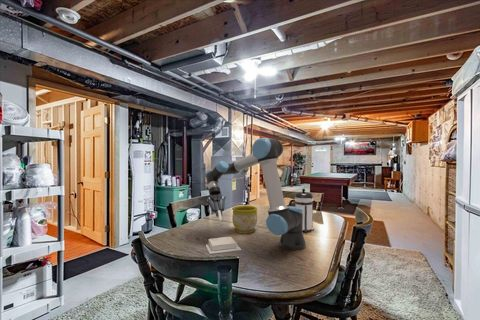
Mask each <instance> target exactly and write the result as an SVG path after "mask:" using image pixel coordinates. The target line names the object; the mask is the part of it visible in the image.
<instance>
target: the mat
mask: <svg viewBox="0 0 480 320" xmlns="http://www.w3.org/2000/svg"><path fill="white" fill-rule="evenodd" d="M205 245H206V246H205V247H206V249H207V252H208V253H209V255H215V254H222V253H223V254H224V253H230V252H238V251H242V249H241V247H240V246H239V245H238V244H237V248H233V249H225V250H217V251H213V250H212V249H211V247H210V245H209V243H208V244H205Z"/></svg>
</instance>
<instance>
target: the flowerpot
mask: <svg viewBox="0 0 480 320" xmlns="http://www.w3.org/2000/svg"><path fill="white" fill-rule="evenodd" d="M231 210H232V216H231V217H232V224H233V226H234V230H235V231H236V232H237V233H239V234H251V233H253V232H254V231H255V230H256V229H255V228H256V226H257V223H258V207H257V206H253V205H236V206H233V207H232V208H231Z"/></svg>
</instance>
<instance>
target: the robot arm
mask: <svg viewBox="0 0 480 320" xmlns="http://www.w3.org/2000/svg"><path fill="white" fill-rule="evenodd" d="M283 152H284V145H283V143H282V141H281V140H279V139H276V138H268V137H259V138H257V139H256V140H255V141H254V142H253V144H252V147H251V154H248V155H247V156H245V157H244V156H243V157H242V158H240V159H237V160H236V161H234V162H231V163H228V162H227V161H224V160H220V161H219V162H218V163H217V164H216V165H215V166H214V167H213V169H212V168H211V169H208V170H207V171H206V173H205V179H206V183H207V189H208V193H209V194H208V195H209V196H208V197H206V202H207V203H208V205H209V208H210V210H211V211H212V213H215V216H216V217H217V218H218V219H217V220H218V223H222V221H223V218H222V217H223V212H224V211H225V206H226V205H225V204H226V198H227V197H226V196H223V195H222V192H221V187H220V184H219V183H220V182H219V179H221V177H222V176H225V175H226V176H228V175H237V174H240V173H241V171H243V170H246V169H249V168H251V167H253V166H255V165H260V166H261V170H262V175H263V180H264V185H265V189H266V195H267V199H268V205H269V208H268V209H267V214H268V216H267V218H266V220H265V224H266V227H267V230H268V231H269V232H270V233H271V234H273V235H276V236H280V240H279V246H280V247H281V248H283V249H286V250H289V251H290V250H292V251H299V250H303V249H305V248H306V245H307V244H306V240H305V237H304V233H303V231H304V230H303V211H302V208H299V207H295V206H292V205H291V206H289V205H286V203H285V198H284V194H283V189H282V185H281V184H282V183H281V179H280V174H279V170H278V165H277V162H278V161H279V157H281V156H282V154H283ZM221 200H222V202H221ZM221 203H222V204H221Z"/></svg>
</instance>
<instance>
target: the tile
mask: <svg viewBox="0 0 480 320" xmlns="http://www.w3.org/2000/svg"><path fill="white" fill-rule="evenodd" d="M207 242H208V244H209V245H210V247H211V249H212V250H213V251H217V250H225V249H233V248H237V245H238V243H237V242H236V240H235V239H234V238H233V237H232V236H223V237H214V238H208V241H207Z"/></svg>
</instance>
